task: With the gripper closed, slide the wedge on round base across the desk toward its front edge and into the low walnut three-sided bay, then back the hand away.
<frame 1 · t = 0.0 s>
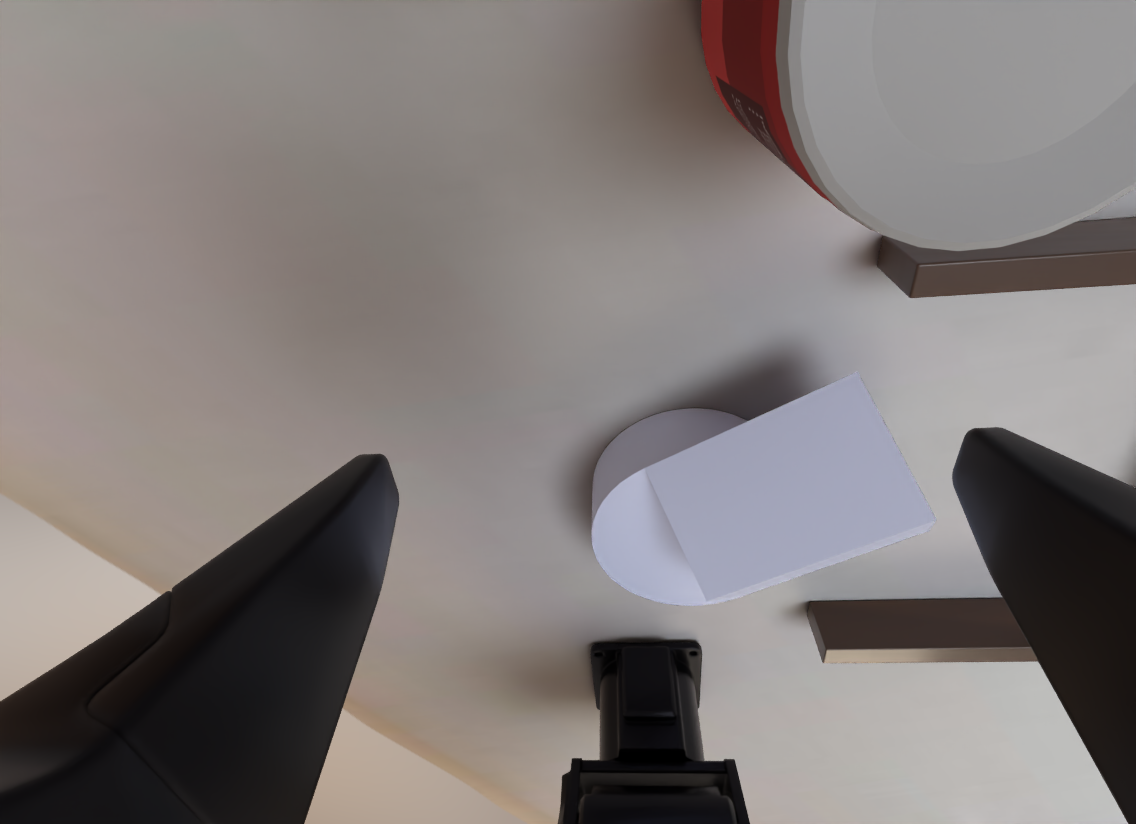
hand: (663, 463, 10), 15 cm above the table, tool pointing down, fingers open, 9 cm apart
wedge on round base: (724, 467, 28), on the table
canned food: (823, 0, 18), on the table
bay: (997, 459, 27), on the table
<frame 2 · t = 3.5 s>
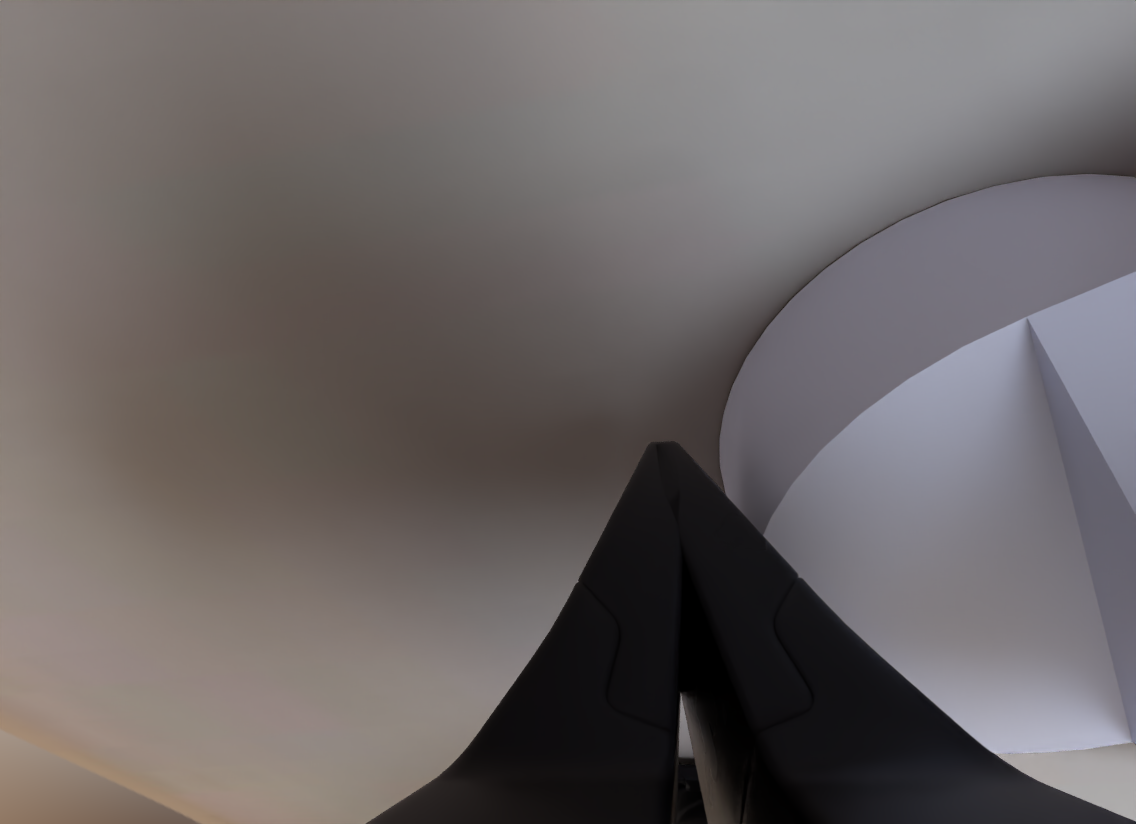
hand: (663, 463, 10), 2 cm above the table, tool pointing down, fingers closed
wedge on round base: (1093, 382, 10), on the table, touching gripper
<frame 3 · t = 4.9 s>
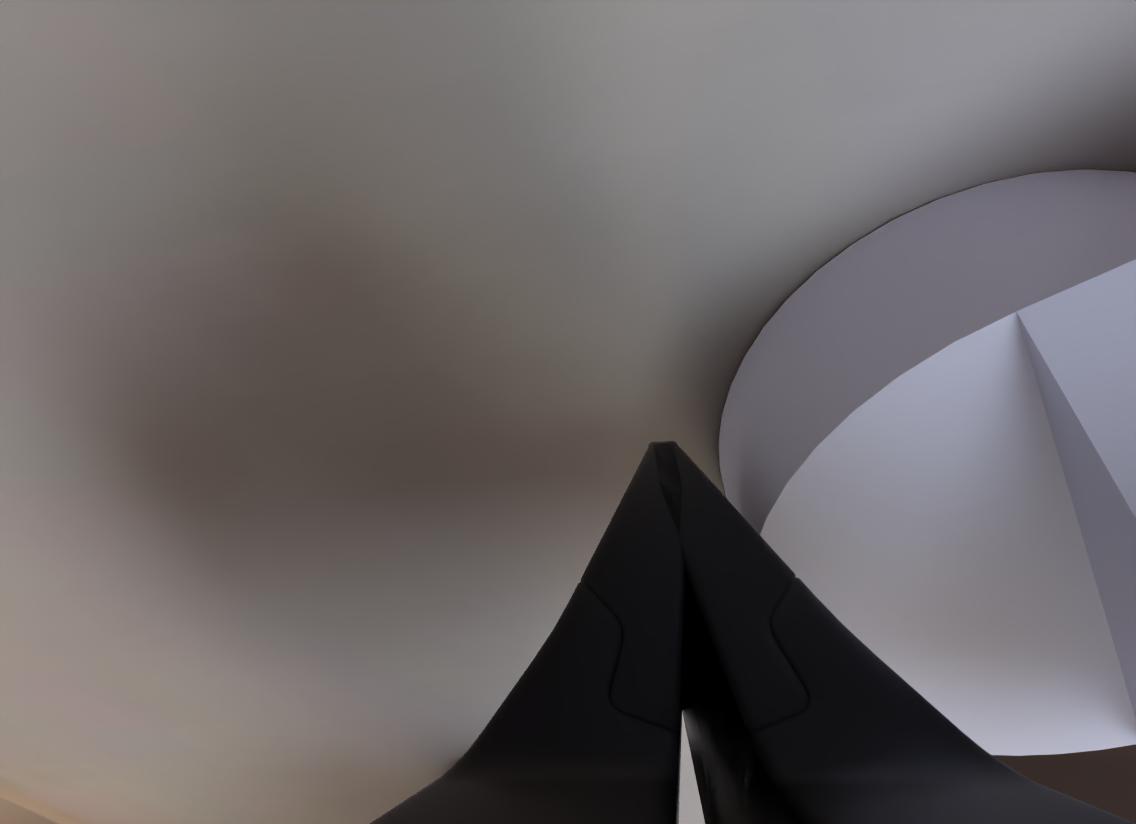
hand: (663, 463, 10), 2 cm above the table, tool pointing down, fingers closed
wedge on round base: (1094, 378, 10), on the table, touching gripper
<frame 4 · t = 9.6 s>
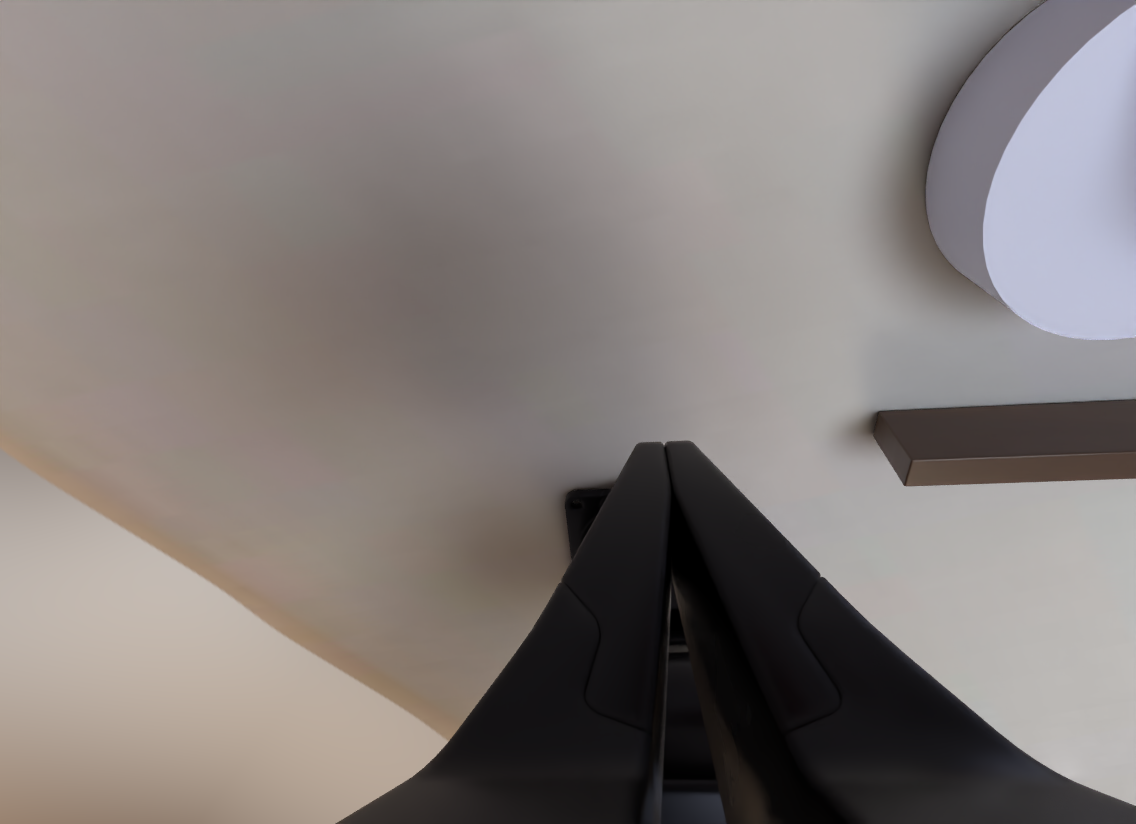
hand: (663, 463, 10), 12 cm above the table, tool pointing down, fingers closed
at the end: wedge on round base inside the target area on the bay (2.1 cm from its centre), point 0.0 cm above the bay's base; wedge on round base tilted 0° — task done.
